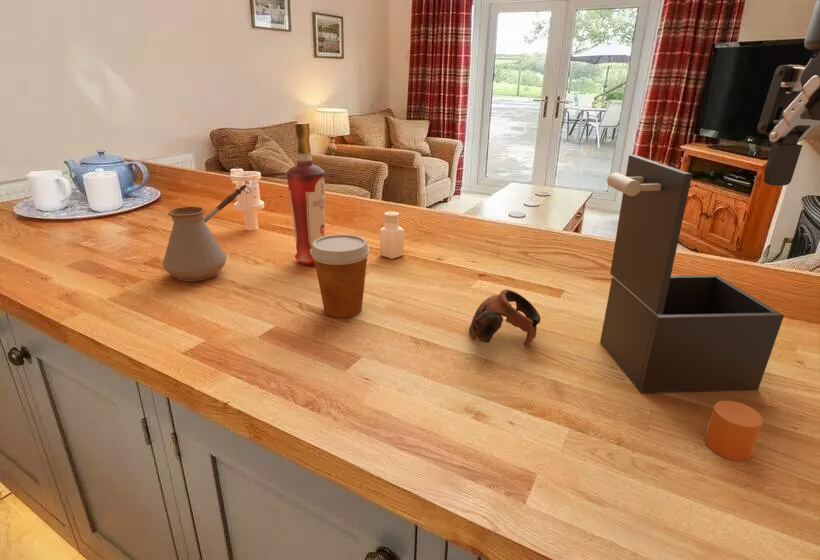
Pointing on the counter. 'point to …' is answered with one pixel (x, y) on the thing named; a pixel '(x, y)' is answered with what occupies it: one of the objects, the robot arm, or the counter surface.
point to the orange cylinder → (733, 430)
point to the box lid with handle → (648, 227)
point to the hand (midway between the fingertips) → (812, 194)
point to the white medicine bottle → (391, 236)
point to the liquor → (306, 197)
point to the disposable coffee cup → (341, 272)
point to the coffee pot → (194, 243)
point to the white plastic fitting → (248, 196)
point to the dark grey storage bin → (691, 336)
